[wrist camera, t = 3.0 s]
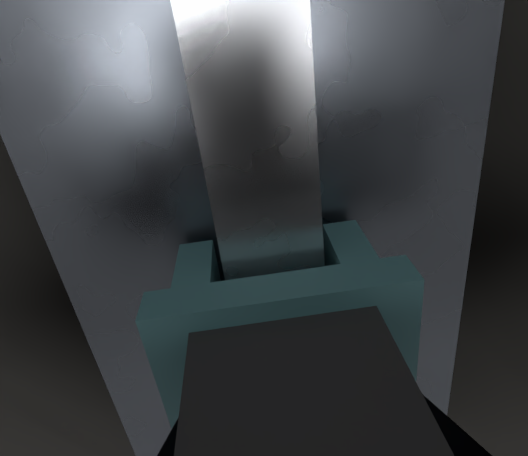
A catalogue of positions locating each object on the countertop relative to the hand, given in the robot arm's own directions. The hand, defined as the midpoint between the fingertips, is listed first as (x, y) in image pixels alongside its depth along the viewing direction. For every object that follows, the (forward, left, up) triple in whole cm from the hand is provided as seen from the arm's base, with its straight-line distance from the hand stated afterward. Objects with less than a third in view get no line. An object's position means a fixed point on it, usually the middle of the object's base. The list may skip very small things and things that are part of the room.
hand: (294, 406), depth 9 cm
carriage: (0, 0, -4) cm, 4 cm away
